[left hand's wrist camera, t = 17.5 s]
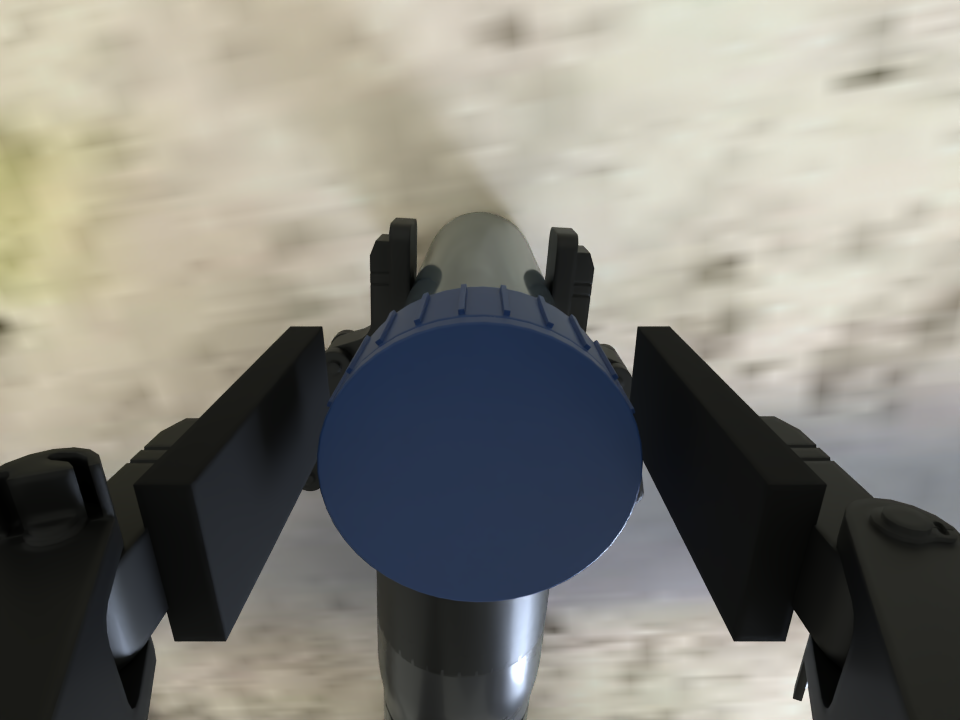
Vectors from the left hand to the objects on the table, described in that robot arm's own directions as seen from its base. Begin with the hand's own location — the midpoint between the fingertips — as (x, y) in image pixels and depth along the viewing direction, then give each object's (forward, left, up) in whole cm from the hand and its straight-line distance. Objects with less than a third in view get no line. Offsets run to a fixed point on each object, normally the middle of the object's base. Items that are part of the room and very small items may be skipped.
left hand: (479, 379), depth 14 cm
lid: (0, 0, +4) cm, 4 cm away
